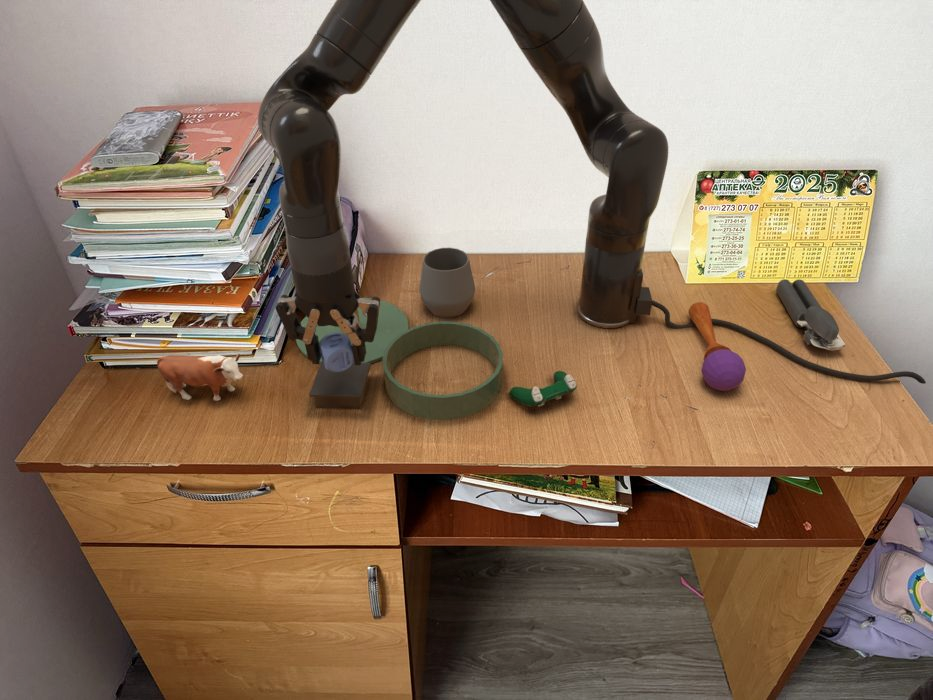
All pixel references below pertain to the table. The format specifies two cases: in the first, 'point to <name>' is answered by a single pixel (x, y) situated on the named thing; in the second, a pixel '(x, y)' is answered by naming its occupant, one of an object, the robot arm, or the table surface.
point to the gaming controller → (544, 390)
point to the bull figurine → (199, 372)
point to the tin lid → (387, 327)
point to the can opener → (809, 315)
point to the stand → (340, 387)
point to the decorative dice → (336, 352)
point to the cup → (446, 282)
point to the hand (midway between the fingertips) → (337, 360)
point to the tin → (450, 403)
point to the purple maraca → (717, 354)
